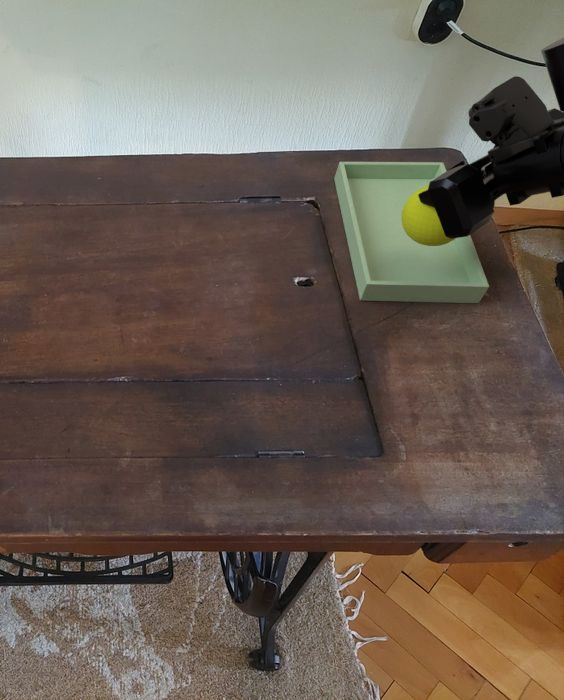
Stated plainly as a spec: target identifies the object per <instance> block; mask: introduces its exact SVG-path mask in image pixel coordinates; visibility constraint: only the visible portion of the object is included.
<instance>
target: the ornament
mask: <svg viewBox="0 0 564 700" xmlns="http://www.w3.org/2000/svg"><path fill="white" fill-rule="evenodd" d="M433 175H434V174H433ZM434 179H435V178H434ZM434 179H432V180H434ZM428 187H429V185H428V186H425V187H423V188H421V189H419V190H417V191H416V192H415V193H413V194H412V195H411V196H410V197H409V199H408V200H407V201H406V203H405V205H404V207H403V210H402V225H403V228H404V230H405V232H406V234H407V235H408V236H409V237H410V238H411V239H412V240H414V241H415V242H417V243H419V244H422V245H426V246H441V245H444V244H447V243H449V242H451V241H453V240H455V239H456V238H453V239H450V238H448V237H446V236H445V233H444V231H443V228H442V226H441V223H440V220H439V218H438V215H437V212H436V210H435V208H434V207H431V206H428V205H426V204H423V203H421V202H420V199H419V197H418V194H420V193H421V192H423V191H425V190H427V189H428Z"/></svg>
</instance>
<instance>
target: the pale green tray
mask: <svg viewBox="0 0 564 700" xmlns="http://www.w3.org/2000/svg"><path fill="white" fill-rule="evenodd" d="M446 171H447V168H446V165H445V163H444V162H442V161H441V162H440V161H439V162H438V161H436V162H435V161H339V162H338V166H337V168H336V172H335V175H334V178H333V180H334V185H335V189H336V195H337V199H338V204H339V208H340V212H341V217H342V222H343V227H344V230H345V231H344V232H345V237H346V241H347V246H348V251H349V257H350V260H351V265H352V270H353V275H354V279H355V283H356V289H357V294H358V298H359V301H361V302H362V301H363V302H364V301H366V302H409V303H448V304H449V303H450V304H479V303H480V302H481V300H482V299H483V297H484V296H485V294H486V293H487V291H488V290H489V288H490V285H489V281H488V279H487V277H486V274H485V271H484V268H483V266H482V263H481V260H480V258H479V255H478V252H477V250H476V247H475V244H474V242H473V239H472V237H471V234H470V235H469V236H467V237H460V238H456V239H455V240H453V241H451V242H449V243H447V244H444V245H441V246H426V245H422V244H419V243H417V242H415V241H414V240H412V239H411V238H410V237H409V236H408V235H407V234H406V232H405V230H404V228H403V225H402V210H403V207H404V205H405V203H406V201H407V200H408V199H409V197H410V196H411V195H412V194H413V193H415V192H416V191H417V190H419V189H421V188H423V187H425V186H428V185H429V183H430V182H431V181H432V179H434V178H437V177H438V176H440V175H442V174H443V173H445V172H446ZM433 174H434V175H433Z"/></svg>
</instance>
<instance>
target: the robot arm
mask: <svg viewBox="0 0 564 700" xmlns="http://www.w3.org/2000/svg"><path fill="white" fill-rule="evenodd" d="M540 52H541V56H542V58H543V61H544V64H545V68H546V71H547V75H548V77H549V81H550V83H551V86H552V89H553V92H554V95H555V98H556V103H557V105H558V108H559V109H558V108H554V107H553V108H551V109H548V108H547V106H546V104H545V103H544V102H543V100H542V99H541V98H540V96H539V95H538V94H537V93H536V91H534V89H533V88H532V87H531V86H530V85H529V83H528V82H527V80H525V79H524V78H523V77H521V76H517V75H515V76H513V77H511V78H509V79H507V80H506V81H504V82H503V83H500V84H499V85H497V86H495V87H493V89H491V90H490V91H489V92H488V93H486V94H485V95H484V97H482V98H481V99H479V100H478V101H477V102H475V103H473V104H472V105H471V107H470V108H469V109H468V125H469V127H470V128H471V130H472V131H473V132H474V133H475V134H476V136H477V137H478V138H479V139H480V140H481V141H482V142H487V143H488V142H490V143H492V145H494V146H492V147H493V148H490V149H489V150H488V151H487V154H486V155H483V156H482V157H480V158H478V159H476V160H474V161H472V162H471V163H465V161H464V160H462V161H460V162H458V163H456V164H454V165H453V166H452V167H451V168H449V169H448V170H446V172H445V173H443V174H442V175H440V176H438V177H437V178H435V179H434V180H432V181H431V182H430V183H429V187H428V189H427V190H425V191H423V192H421V193H420V194H418V197H419V199H420V202H421V203H423V204H426V205H428V206H431V207H434V208H435V210H436V212H437V215H438V218H439V220H440V223H441V226H442V228H443V231H444V233H445V236H446V237H448V238H450V239H453V238H460V237H467V236H469V235H470V236H471V235H472V234H473V233H475V232H476V231H478V230H479V229H481V228H482V227H483V226H485V225H486V224H488V223H489V222H490V220H491V219H492V216H493V215H494V214H495V210H494V208H495V206H496V200H498V199H499V198H500V197H502V196H504V195H506V199H507V201H508V204H509V206H511V207H512V206H516V205H520V204H522V203H523V202H525V201H526V200H528V199H529V198H531V197H532V196H536V195H542V194H546V193H549V194H550V197H551V198H559V197H564V37H562V38H560V39H557V40H556V41H554V42H552V43H550V44H548V45H547V46H545V47H544V48H542V49H541V50H540Z"/></svg>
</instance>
